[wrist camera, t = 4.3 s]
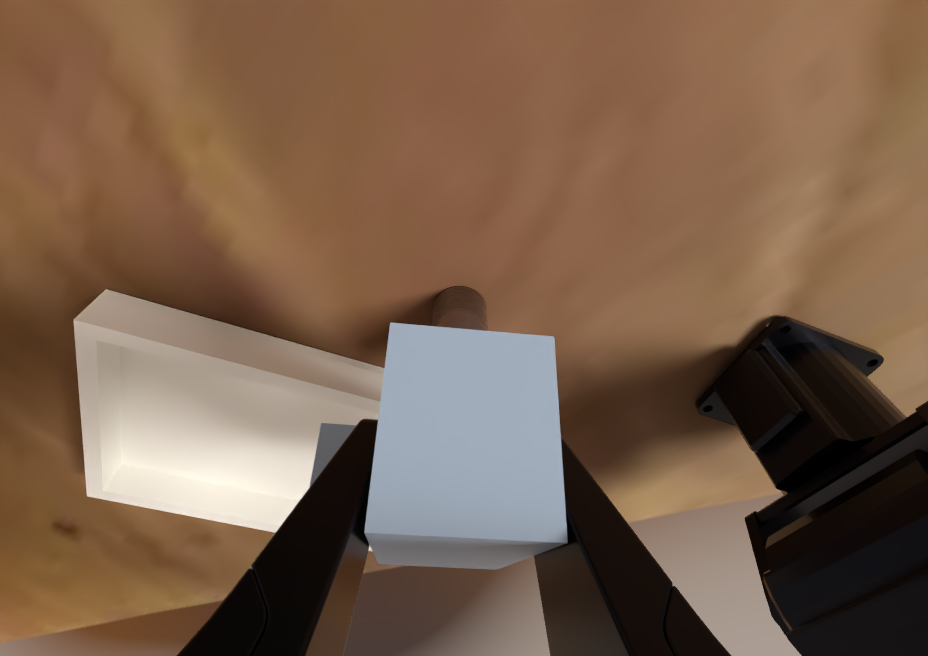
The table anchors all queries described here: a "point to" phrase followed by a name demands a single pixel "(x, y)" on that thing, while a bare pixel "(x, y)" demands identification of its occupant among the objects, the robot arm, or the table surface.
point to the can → (460, 309)
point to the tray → (206, 411)
